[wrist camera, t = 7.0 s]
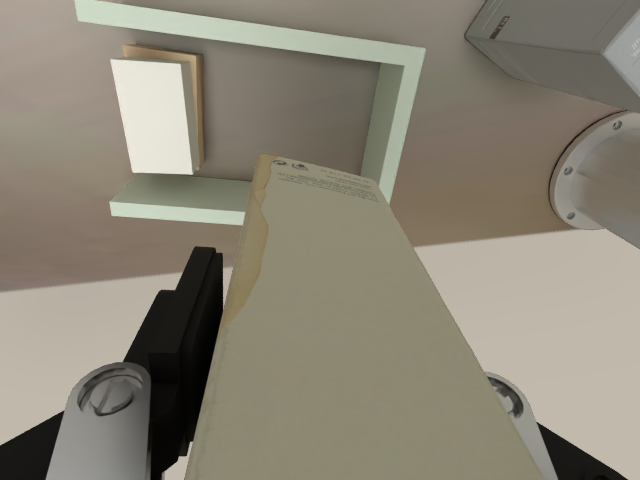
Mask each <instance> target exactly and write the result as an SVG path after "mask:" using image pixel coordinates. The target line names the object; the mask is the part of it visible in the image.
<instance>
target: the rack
mask: <svg viewBox="0 0 640 480" xmlns="http://www.w3.org/2000/svg"><path fill="white" fill-rule="evenodd" d="M75 6H76V12H77V18H78V21H82V22H90V23H97V24H104V25H112V26H119V27H126V28H134V29H141V30H148V31H155V32H163V33H170V34H177V35H185V36H192V37H199V38H206V39H214V40H221V41H228V42H236V43H243V44H250V45H258V46H265V47H272V48H279V49H287V50H294V51H301V52H309V53H316V54H323V55H331V56H338V57H345V58H352V59H360V60H367V61H374V62H381V65H380V70H379V76H378V81H377V86H376V92H375V97H374V102H373V108H372V113H371V119H370V124H369V129H368V135H367V140H366V146H365V151H364V156H363V162H362V167H361V173H360V176H361V177H365V178H370V179H373V180H374V181H375V182H376V183H377V185H378V187H379V188H380V190H381V192H382V194H383V195H384V197H385V199H386V201H387V202H388V204H389V203H390V199H391V195H392V191H393V186H394V182H395V178H396V174H397V169H398V165H399V161H400V157H401V153H402V148H403V144H404V140H405V136H406V131H407V127H408V123H409V119H410V114H411V110H412V106H413V102H414V97H415V93H416V89H417V85H418V81H419V76H420V72H421V68H422V64H423V59H424V55H425V51H426V48H420V47H413V46H406V45H399V44H392V43H385V42H378V41H372V40H365V39H358V38H351V37H344V36H337V35H330V34H323V33H316V32H309V31H302V30H296V29H289V28H282V27H275V26H268V25H261V24H254V23H247V22H240V21H233V20H226V19H220V18H213V17H206V16H199V15H192V14H185V13H178V12H171V11H164V10H157V9H151V8H144V7H137V6H130V5H123V4H116V3H109V2H102V1H95V0H75ZM251 183H252V182H251V181H240V180H228V179H217V178H205V177H194V176H183V175H171V174H160V173H140V174H138V175H137V176H136V177H135V178H134V179H133V180H132V181H131V182H130V183H129V184H128V185H127V186H126V187H125V188H124V189H122V190H121V191H120V192H119V193H118V194H117V195H116V196H115V197H114V198H113V199H112V200H111V201H110V208H111V213H112V216H123V217H137V218H151V219H165V220H179V221H193V222H206V223H220V224H234V225H243V221H244V216H245V211H246V206H247V201H248V197H249V192H250V188H251Z"/></svg>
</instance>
